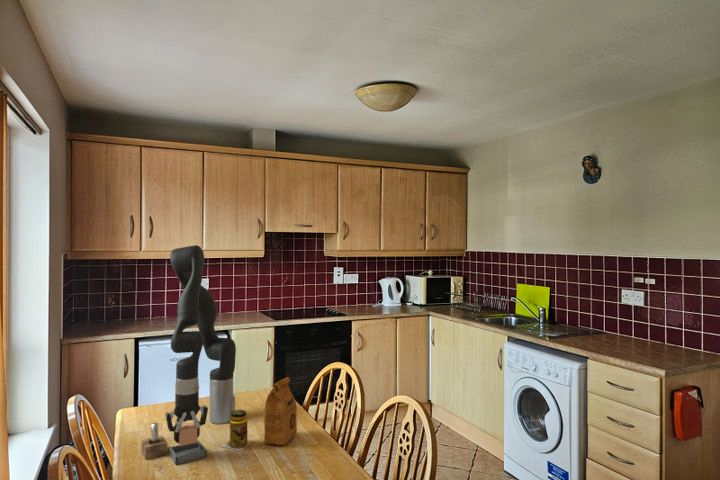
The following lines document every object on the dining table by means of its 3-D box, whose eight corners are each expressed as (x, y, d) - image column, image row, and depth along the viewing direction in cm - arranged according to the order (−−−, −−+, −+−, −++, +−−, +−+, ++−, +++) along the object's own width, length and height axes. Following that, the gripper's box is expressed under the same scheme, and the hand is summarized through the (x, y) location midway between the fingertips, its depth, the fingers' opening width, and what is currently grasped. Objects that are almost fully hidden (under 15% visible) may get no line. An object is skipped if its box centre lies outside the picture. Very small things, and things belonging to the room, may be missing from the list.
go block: (162, 446, 172) (162, 435, 172) (167, 454, 166) (167, 442, 166) (141, 451, 168) (141, 440, 168) (145, 459, 162) (145, 447, 162)
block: (197, 442, 164) (197, 427, 164) (180, 446, 161) (180, 431, 161) (192, 436, 169) (193, 422, 169) (176, 440, 166) (176, 425, 166)
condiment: (241, 450, 170) (241, 416, 169) (220, 447, 172) (220, 413, 172) (252, 442, 176) (252, 409, 176) (232, 439, 179) (232, 406, 179)
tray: (198, 447, 172) (198, 440, 172) (206, 457, 164) (206, 449, 164) (169, 454, 166) (169, 447, 166) (175, 464, 159) (175, 457, 159)
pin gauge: (157, 450, 169) (157, 422, 169) (158, 453, 167) (158, 424, 167) (150, 452, 168) (150, 423, 167) (151, 454, 166) (151, 425, 166)
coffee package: (301, 435, 183) (301, 377, 182) (284, 449, 171) (284, 386, 171) (278, 431, 186) (278, 374, 186) (260, 444, 175) (260, 383, 174)
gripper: (205, 384, 172) (204, 431, 172) (162, 390, 164) (162, 441, 164) (211, 389, 166) (211, 439, 166) (167, 397, 158) (166, 449, 158)
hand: (186, 439), depth 165 cm, fingers closed on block, 5 cm apart
